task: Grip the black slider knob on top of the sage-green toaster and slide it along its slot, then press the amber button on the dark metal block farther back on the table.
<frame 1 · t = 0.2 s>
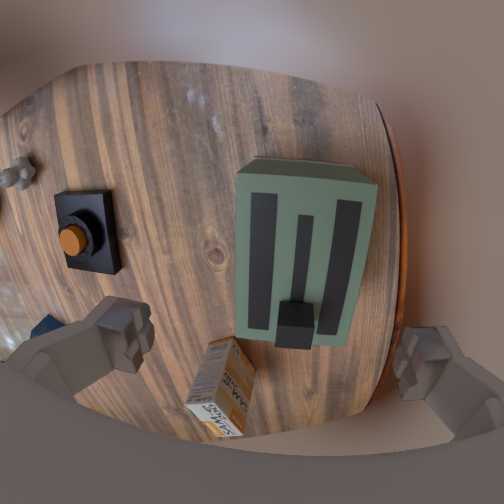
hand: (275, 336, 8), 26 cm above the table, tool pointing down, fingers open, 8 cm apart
button block: (90, 229, 38), on the table
supplement box: (233, 355, 44), on the table
perfume bottle: (59, 330, 51), on the table
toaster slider: (294, 324, 24), point 13 cm above the table, slide at 0.0 cm
start button: (72, 240, 34), point 4 cm above the table, slide at 0.1 cm
grey rounded figurine: (31, 170, 36), on the table
toaster: (299, 228, 34), on the table
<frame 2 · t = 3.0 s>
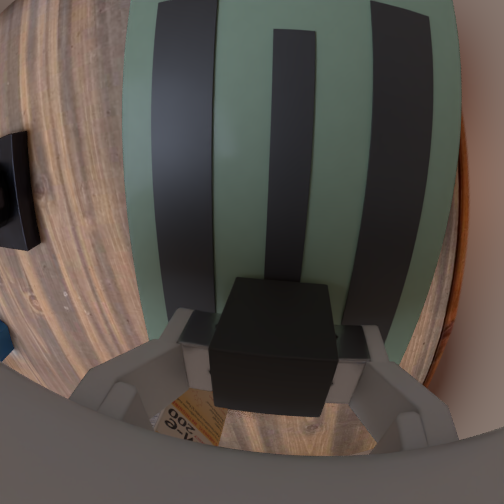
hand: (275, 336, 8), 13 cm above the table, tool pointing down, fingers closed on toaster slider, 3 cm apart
button block: (8, 190, 23), on the table
supplement box: (196, 375, 28), on the table
perfume bottle: (1, 328, 35), on the table
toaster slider: (275, 344, 8), point 13 cm above the table, slide at 0.0 cm, touching gripper
toaster: (291, 158, 18), on the table
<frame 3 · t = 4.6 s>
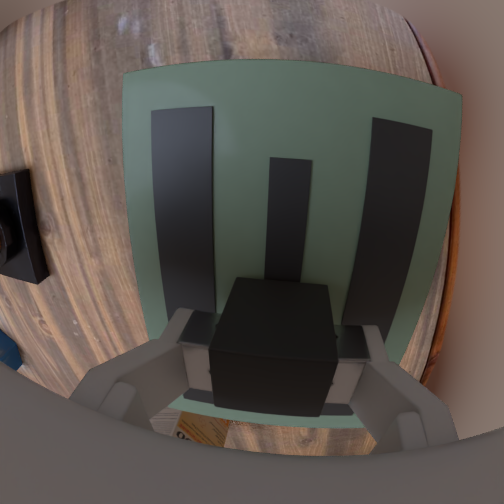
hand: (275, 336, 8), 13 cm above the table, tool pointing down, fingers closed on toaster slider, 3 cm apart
button block: (14, 223, 24), on the table
supplement box: (200, 396, 30), on the table
perfume bottle: (9, 344, 36), on the table
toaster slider: (275, 344, 8), point 13 cm above the table, slide at 4.0 cm, touching gripper
toaster: (288, 214, 20), on the table
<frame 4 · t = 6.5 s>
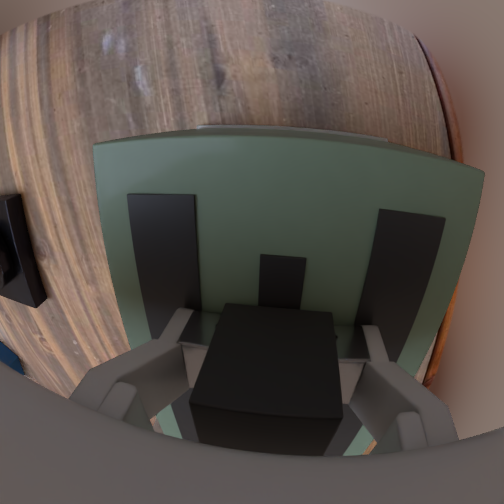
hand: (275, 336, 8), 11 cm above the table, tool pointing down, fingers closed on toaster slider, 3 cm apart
button block: (9, 246, 24), on the table
perfume bottle: (11, 356, 36), on the table
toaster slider: (270, 383, 7), point 13 cm above the table, slide at 6.4 cm, touching gripper
toaster: (285, 251, 20), on the table
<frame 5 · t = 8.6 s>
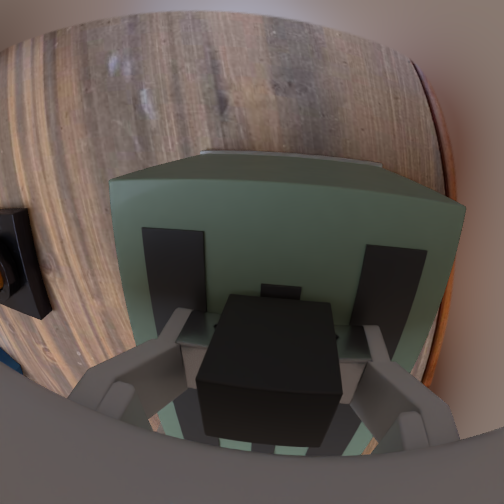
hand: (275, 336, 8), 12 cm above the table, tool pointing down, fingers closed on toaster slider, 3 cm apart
button block: (15, 258, 25), on the table
perfume bottle: (13, 365, 36), on the table
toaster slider: (272, 369, 7), point 13 cm above the table, slide at 7.5 cm, touching gripper
toaster: (283, 271, 21), on the table
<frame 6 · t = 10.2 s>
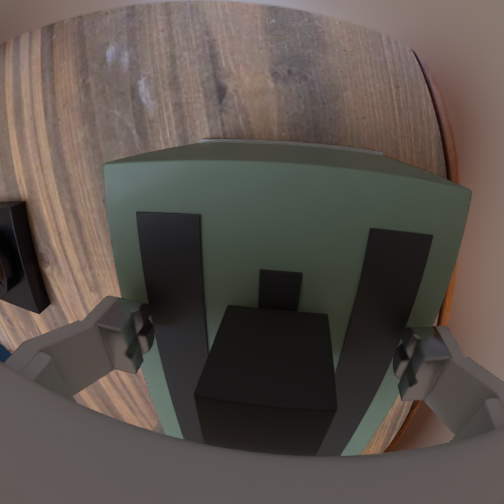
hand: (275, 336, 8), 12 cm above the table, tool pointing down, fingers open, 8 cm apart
button block: (13, 252, 24), on the table
perfume bottle: (12, 360, 36), on the table
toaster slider: (269, 380, 7), point 13 cm above the table, slide at 6.7 cm
toaster: (284, 261, 20), on the table
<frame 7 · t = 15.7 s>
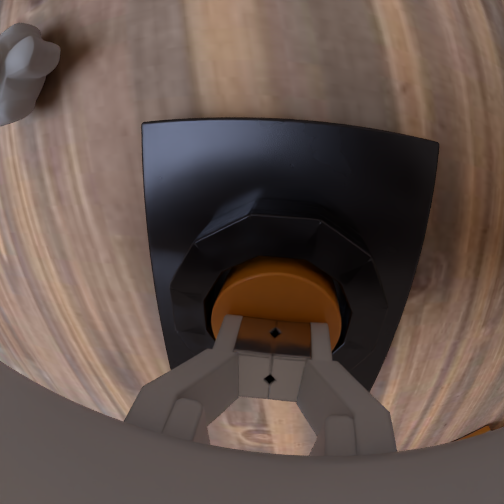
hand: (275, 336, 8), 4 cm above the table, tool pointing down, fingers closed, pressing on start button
button block: (282, 266, 12), on the table
start button: (277, 314, 9), point 4 cm above the table, slide at -0.9 cm, touching gripper
grey rounded figurine: (44, 73, 10), on the table
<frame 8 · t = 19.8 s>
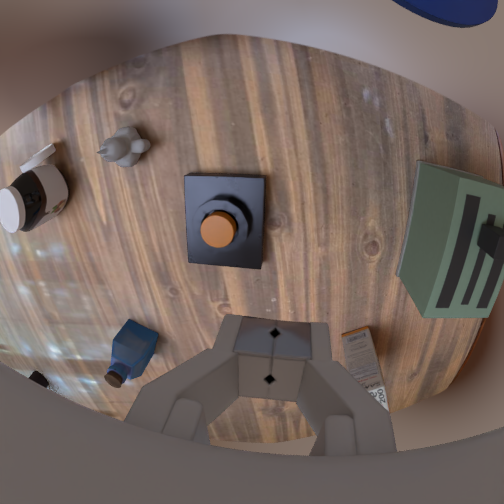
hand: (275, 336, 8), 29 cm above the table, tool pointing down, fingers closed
button block: (226, 218, 38), on the table
supplement box: (359, 345, 44), on the table
perfume bottle: (141, 336, 50), on the table
spread jar: (54, 178, 39), on the table
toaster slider: (497, 242, 21), point 13 cm above the table, slide at 6.7 cm
vinegar: (41, 377, 69), on the table
start button: (218, 229, 34), point 4 cm above the table, slide at 0.1 cm
grey rounded figurine: (136, 145, 36), on the table
toaster: (441, 224, 34), on the table
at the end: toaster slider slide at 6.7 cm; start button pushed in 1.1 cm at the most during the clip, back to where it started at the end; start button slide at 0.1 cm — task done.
